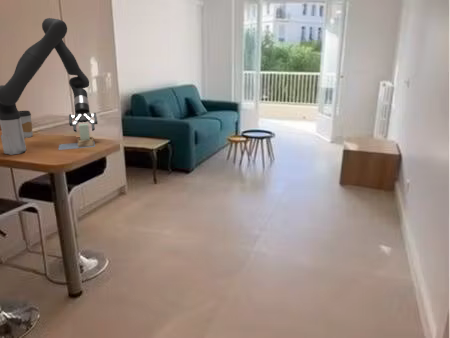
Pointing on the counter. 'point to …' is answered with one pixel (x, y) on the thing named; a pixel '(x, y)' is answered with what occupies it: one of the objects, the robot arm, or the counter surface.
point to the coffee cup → (26, 123)
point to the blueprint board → (72, 146)
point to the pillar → (84, 132)
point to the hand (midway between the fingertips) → (84, 130)
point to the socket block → (85, 142)
